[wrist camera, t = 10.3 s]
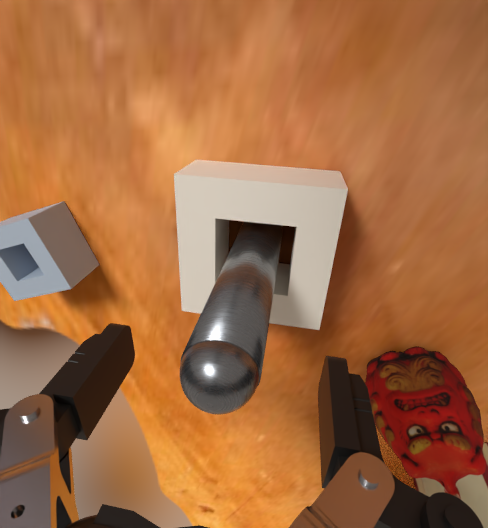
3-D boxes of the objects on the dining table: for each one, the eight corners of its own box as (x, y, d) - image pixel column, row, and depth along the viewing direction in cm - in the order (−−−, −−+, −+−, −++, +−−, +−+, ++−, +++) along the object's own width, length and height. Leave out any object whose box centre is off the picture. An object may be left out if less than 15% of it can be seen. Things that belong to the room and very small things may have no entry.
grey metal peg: (241, 210, 24) (162, 364, 11) (284, 214, 24) (258, 379, 10) (240, 248, 26) (168, 425, 12) (280, 253, 25) (252, 440, 12)
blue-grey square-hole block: (9, 218, 28) (-33, 236, 24) (64, 201, 26) (27, 218, 23) (47, 276, 30) (14, 301, 27) (99, 264, 29) (71, 288, 25)
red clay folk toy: (445, 332, 26) (582, 570, 13) (462, 390, 29) (591, 638, 16) (351, 353, 29) (390, 570, 16) (375, 405, 31) (424, 629, 18)
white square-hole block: (196, 159, 23) (174, 174, 19) (340, 171, 22) (348, 189, 18) (199, 279, 28) (181, 310, 24) (317, 294, 27) (319, 330, 23)
